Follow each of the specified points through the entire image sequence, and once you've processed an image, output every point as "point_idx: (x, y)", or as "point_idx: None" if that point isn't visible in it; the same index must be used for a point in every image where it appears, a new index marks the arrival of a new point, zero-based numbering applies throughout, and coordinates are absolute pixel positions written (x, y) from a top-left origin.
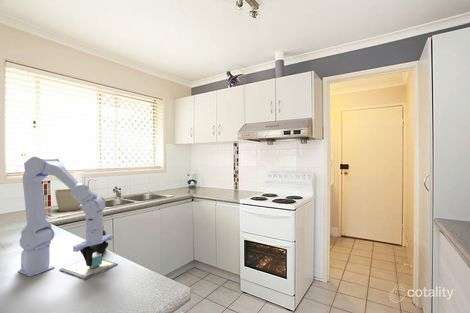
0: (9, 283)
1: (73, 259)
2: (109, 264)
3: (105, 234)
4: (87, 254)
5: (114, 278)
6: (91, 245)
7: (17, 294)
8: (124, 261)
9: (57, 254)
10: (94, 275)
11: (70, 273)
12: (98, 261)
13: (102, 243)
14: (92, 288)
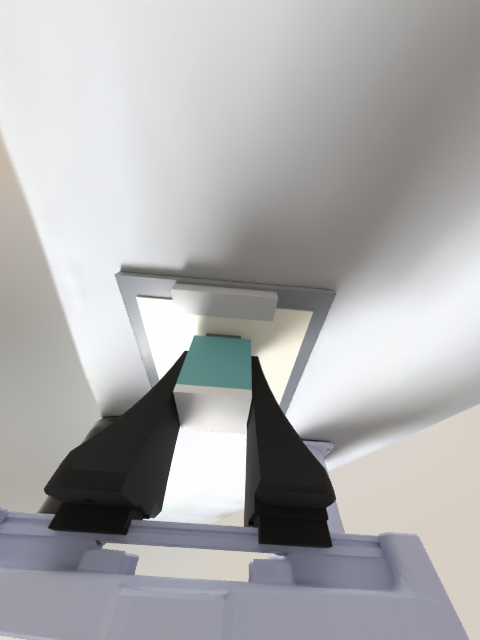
0: (369, 448)
1: (206, 437)
2: (157, 307)
3: (42, 507)
4: (300, 444)
5: (274, 53)
6: (233, 536)
7: (445, 402)
8: (64, 269)
9: (208, 470)
10: (277, 285)
11: (297, 383)
12: (211, 354)
13: (112, 505)
14: (468, 109)
